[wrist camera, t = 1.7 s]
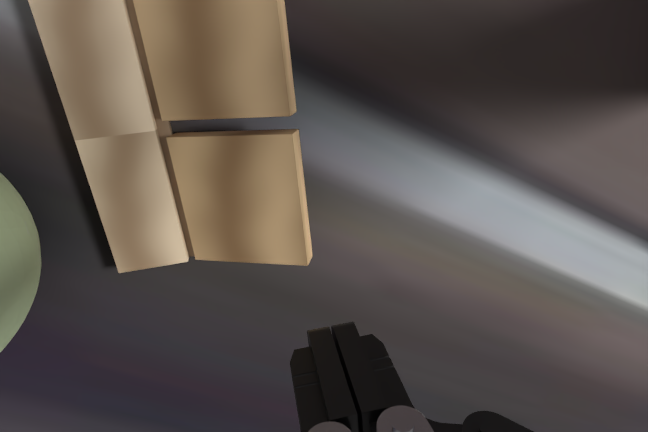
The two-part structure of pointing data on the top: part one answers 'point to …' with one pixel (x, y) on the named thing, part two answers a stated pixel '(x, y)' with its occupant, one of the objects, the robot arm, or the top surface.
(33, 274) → the toy
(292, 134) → the plank far
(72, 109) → the laid strip
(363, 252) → the top surface
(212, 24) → the plank near
